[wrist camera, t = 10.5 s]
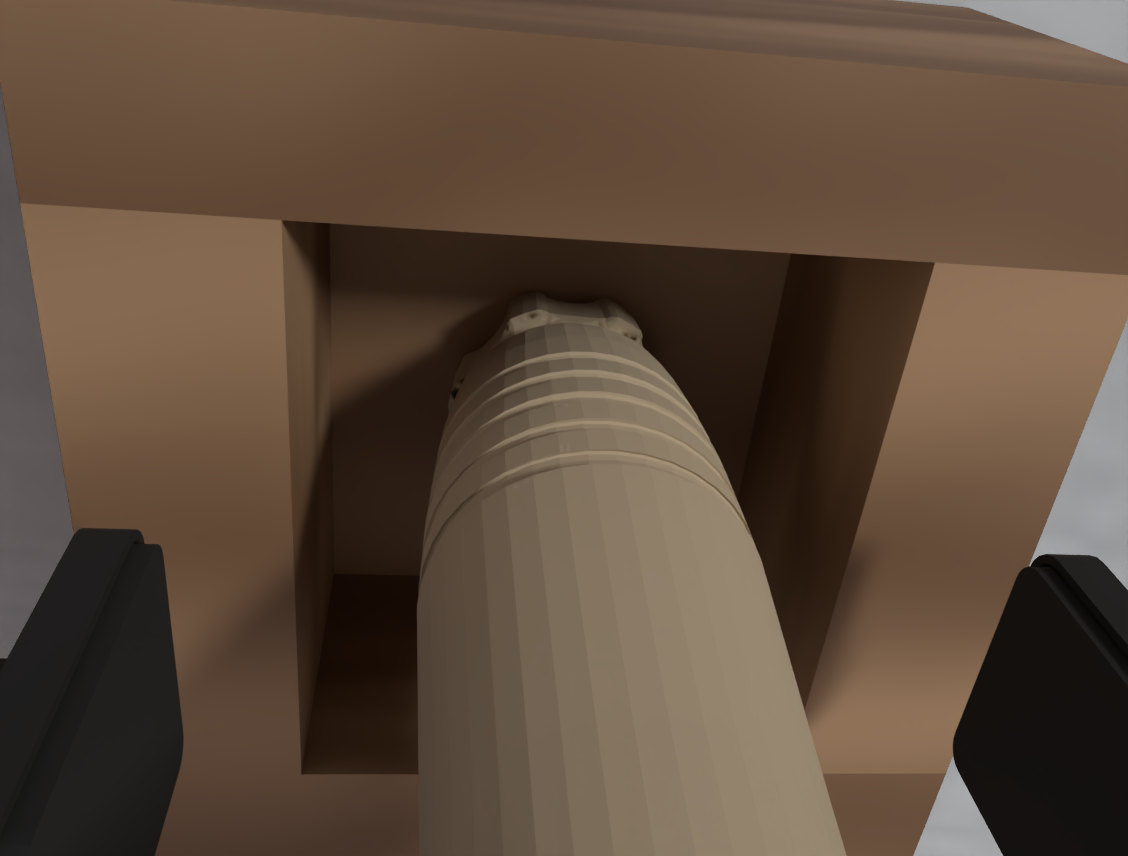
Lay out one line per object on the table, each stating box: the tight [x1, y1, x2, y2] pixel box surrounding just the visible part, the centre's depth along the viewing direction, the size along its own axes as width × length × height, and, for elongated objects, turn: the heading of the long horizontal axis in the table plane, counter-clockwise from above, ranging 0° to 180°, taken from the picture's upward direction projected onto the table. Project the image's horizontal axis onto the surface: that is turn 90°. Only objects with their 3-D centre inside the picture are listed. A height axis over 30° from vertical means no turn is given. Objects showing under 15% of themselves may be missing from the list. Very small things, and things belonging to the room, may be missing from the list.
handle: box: [417, 291, 847, 856], centre depth 10 cm, size 5×6×15 cm
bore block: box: [0, 0, 1128, 856], centre depth 15 cm, size 12×12×6 cm
